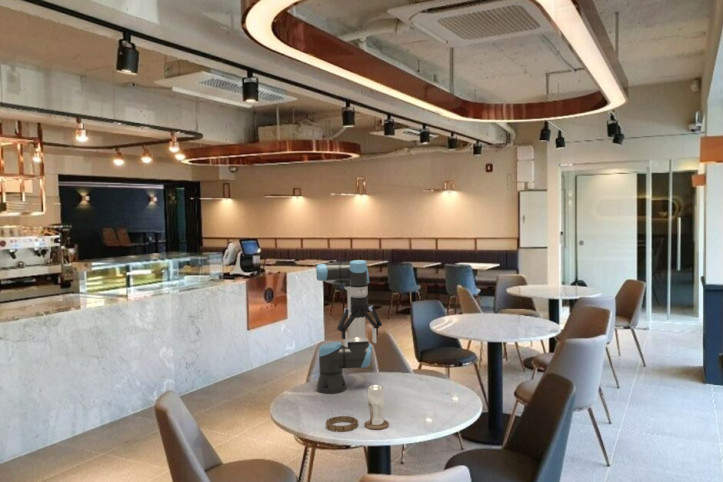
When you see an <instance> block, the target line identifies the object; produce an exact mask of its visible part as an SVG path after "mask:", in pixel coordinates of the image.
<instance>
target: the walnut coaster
mask: <svg viewBox="0 0 723 482" xmlns="http://www.w3.org/2000/svg"><path fill="white" fill-rule="evenodd" d="M383 420H384V424H382V425H379V426H373V425H370V424H369V421H370V419H368V420H366V421H364V428H365V429H367V430H372V431H380V430H386V429H387V428H389V427H390V426H389V425H390V424H389V421H388V420H385V419H383Z"/></svg>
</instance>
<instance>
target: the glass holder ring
mask: <svg viewBox="0 0 723 482" xmlns="http://www.w3.org/2000/svg"><path fill="white" fill-rule="evenodd" d="M336 423H349V424H345V425H336ZM358 427H359V419H357V418H356V417H354V416H348V415H339V416H338V415H337V416H334V417H330V418H328V419H327V420H326V421H325V428H326V429H327V431H330V430H331V432H334V431H335V432H336V431H337V432H336V433H346V432H351V431H354V430H356V429H357V428H358Z"/></svg>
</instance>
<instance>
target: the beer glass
mask: <svg viewBox="0 0 723 482" xmlns="http://www.w3.org/2000/svg"><path fill="white" fill-rule="evenodd" d="M366 395H367V405H368V410H369V411H368V412H369V420H370V421H369V424H370V425H373V426H379V425H382V424H384V420H385V419H384V416H383V415H384V414H383V413H384V407H385V389H384V386H383V385H381V384H380V385H379V384H373V385H368V386H367V394H366Z"/></svg>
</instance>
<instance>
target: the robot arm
mask: <svg viewBox="0 0 723 482" xmlns="http://www.w3.org/2000/svg"><path fill="white" fill-rule="evenodd" d="M315 269H316V271H315V272H316V280H317V281H320V282H324V283H327V284H333V285H343V288H344V290H346V295H347V308H346V307H344V308H343V313H342V316H341V318H340V320H339V323H338V326H337V328H336V330H337V331H339V332H341V339H342V340H343V343H342V342H341V341H332V342H326V343H324V344H322V345H321V346H319V348H318V349H319V350H318V361H319V363H318V365H319V368H318V370H319V376H318V379H317V383H316V388H315V389H316V392H318V393H321V394H338V393H342V392H345V391H346V390H347V382H346V380H345V377H344V375H343V369H364V368H368V367H369V366H370V365H371V362H372V361H371V359H372V353H373V352H372V350H373V349H372V348H373V347H372V346H373V345H372V344H371V343H369V342H370V341H369V339H368V338H367V337H366V320H367V321H368V322H369V323H370V324H371V325H372V326H373V327H371V335H372V336H371V337H372V339H371V340H372V343H373V344H377V336H378V335H379V328H380V327H382V326H383V324H382V321H381V319H380V318H379V316H378V314H377V311H376V307H375V306H374V305H370V306H369V304H368V303H369V298H368V294H369V292H368V284H370V276H369V274H370V273H369V270H368V266H367V261H366V260H364V259H357V260H356V259H355V260H349V261H334V262H333V261H332V262H329V263H319V264H316V268H315ZM369 311H370V313H371V315H372V317H373V318H372V317H371V316H370V315H369V314H368V312H369ZM347 330H348V331H347Z"/></svg>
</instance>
